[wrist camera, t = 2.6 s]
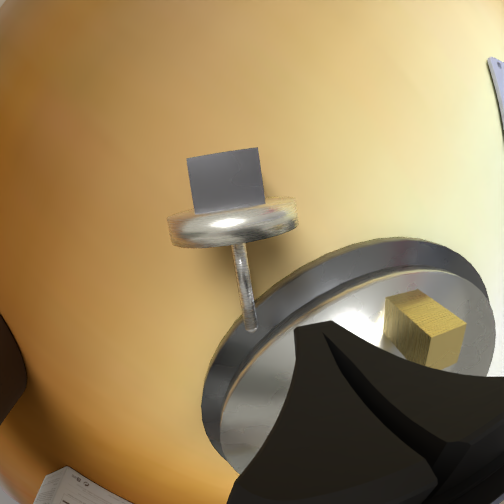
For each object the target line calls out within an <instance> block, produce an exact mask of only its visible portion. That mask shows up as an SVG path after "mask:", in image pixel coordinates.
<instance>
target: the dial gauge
mask: <svg viewBox="0 0 504 504" xmlns="http://www.w3.org/2000/svg"><path fill="white" fill-rule="evenodd" d="M187 166H188V172H189V179H190V186H191V192H192V198H193V205H194V209H191V210H187V211H184V212H180V213H177V214H174V215H171V216H169V217H168V218H167V221H168V226H169V232H170V237H171V242H172V245H174V246H176V247H181V248H209V247H219V246H228V245H231V247H232V253H233V259H234V265H235V271H236V277H237V283H238V289H239V295H240V301H241V307H242V313H243V318H244V324H245V329H246V331H248V332H250V333H253V332H255V331H256V330H257V329H258V323H257V316H256V310H255V303H254V296H253V290H252V283H251V276H250V270H249V263H248V256H247V250H246V243H247V242H252V241H257V240H261V239H266V238H269V237H273V236H277V235H280V234H283V233H286V232H288V231H290V230H292V229H294V228H296V227H297V226H298V217H297V208H296V200H295V198H294V197H268V198H265V196H264V188H263V181H262V174H261V167H260V160H259V153H258V147H257V148H249V149H242V150H235V151H228V152H222V153H215V154H209V155H204V156H198V157H193V158H187Z"/></svg>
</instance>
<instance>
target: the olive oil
mask: <svg viewBox="0 0 504 504" xmlns="http://www.w3.org/2000/svg"><path fill="white" fill-rule="evenodd" d="M26 384H27V377H26V370H25V366H24V363H23V359H22V357H21V354H20V351H19V349H18V347H17V345H16V342H15V340H14V338H13V336H12V334H11V333H10V331H9V329H8V327H7V325H6V324H5V322H4V320H3V319H2V317H1V316H0V425H1V423H2V422H3V420H4V419H5V418H6V416H7V415H8V413H9V412H10V410H11V409H12V408H13V406H14V405H15V403H16V402H17V401H18V399H19V398H20V396H21V395H22V394H23V392H24V390H25V388H26Z"/></svg>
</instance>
